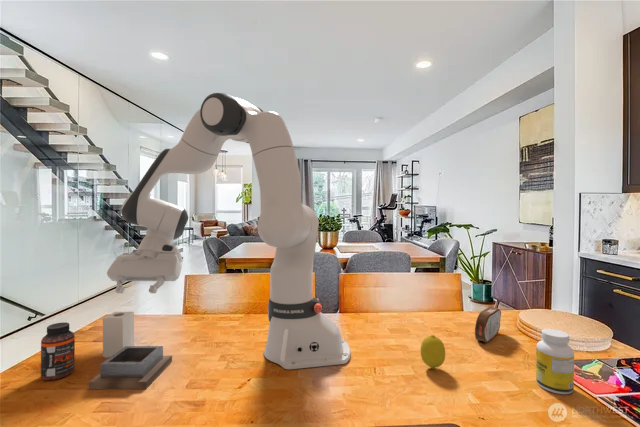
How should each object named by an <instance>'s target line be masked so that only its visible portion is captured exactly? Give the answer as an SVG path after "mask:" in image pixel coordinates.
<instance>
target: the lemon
mask: <svg viewBox="0 0 640 427" xmlns="http://www.w3.org/2000/svg"><path fill="white" fill-rule="evenodd" d="M420 356H421V360H422V362H424V364H425V365H426V366H428V367H430V369H431V368H432V369H431V370H434V369H436V368H439V367H441V366H442V365H443V363H444V362H445V360H446V348H445V345H444V343H443V341H442V340H441V339H440V338H439V337H438V336H435V335H434V334H431V335H429V336H426V337H424V339H423V340H422V341H421V345H420Z"/></svg>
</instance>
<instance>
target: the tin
mask: <svg viewBox="0 0 640 427" xmlns="http://www.w3.org/2000/svg"><path fill="white" fill-rule="evenodd" d="M501 316H502V312H501V309H500V308H497V307H493V306H490V305H489V306H488V307H487V308H485V309H483V310H482V311H480V313H478V316H477V318H476V322H475V326H474V337H475V340H476V341H480V342H482V341H483V343H489V342H490V341H491V340H492V339H494V338H495V337H496V336H497V335H498V333H499V331H500V328H501V318H502V317H501ZM496 334H497V335H496ZM495 335H496V336H495ZM494 336H495V337H494ZM491 338H492V339H491ZM490 339H491V340H490ZM489 340H490V341H489ZM488 341H489V342H488Z"/></svg>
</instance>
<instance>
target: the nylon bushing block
mask: <svg viewBox="0 0 640 427" xmlns="http://www.w3.org/2000/svg"><path fill="white" fill-rule="evenodd" d="M125 346H135V312H134V311H114V312H112V313H110V314H108V315H106V316H104V317H102V357H103V358H110V357H111V356H113V355H114V354H115V353H117V352H118V351H119V350H121V349H122V348H124V347H125Z"/></svg>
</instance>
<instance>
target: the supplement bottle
mask: <svg viewBox="0 0 640 427" xmlns="http://www.w3.org/2000/svg"><path fill="white" fill-rule="evenodd" d="M75 336H76V335H75V333H74V332H73V331H71V330H70V323H69V322H66V321H65V322H56V323H52V324H50V325H48V326H46V334H45V335H44V336H43V337H42V338H41V339H40V340H41V341H40V378H41V379H42V380H44V381H54V380H59V379H62V378H65V377H68V376H69V375H71V374H72V373H73V372H74V371H75V364H76V362H75V361H76V358H75V357H76V356H75V347H76V346H75V344H76V340H75Z"/></svg>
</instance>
